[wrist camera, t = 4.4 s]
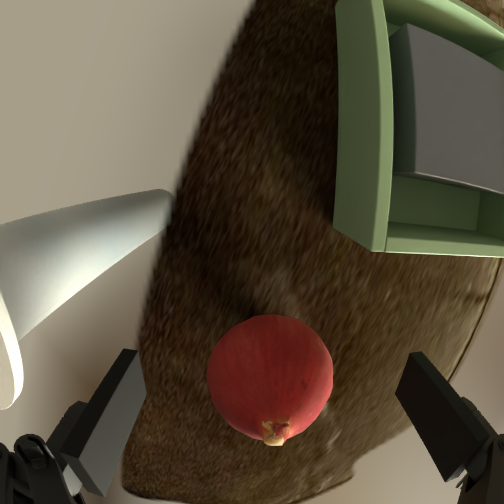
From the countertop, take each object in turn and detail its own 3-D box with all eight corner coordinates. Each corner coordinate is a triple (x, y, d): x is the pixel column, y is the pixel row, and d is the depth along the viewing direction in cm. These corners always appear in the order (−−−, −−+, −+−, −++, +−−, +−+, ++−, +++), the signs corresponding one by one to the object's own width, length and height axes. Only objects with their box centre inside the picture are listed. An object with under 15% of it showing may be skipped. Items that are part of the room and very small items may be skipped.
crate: (332, 227, 15) (370, 252, 10) (334, 6, 11) (362, -41, 7) (475, 238, 15) (526, 258, 10) (473, 56, 12) (518, 40, 7)
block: (373, 172, 14) (414, 173, 10) (372, 51, 12) (405, 21, 8) (467, 189, 14) (512, 196, 10) (465, 84, 12) (506, 72, 8)
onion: (329, 349, 17) (373, 448, 9) (247, 387, 17) (249, 492, 10) (287, 270, 15) (325, 360, 8) (195, 319, 16) (163, 424, 8)
